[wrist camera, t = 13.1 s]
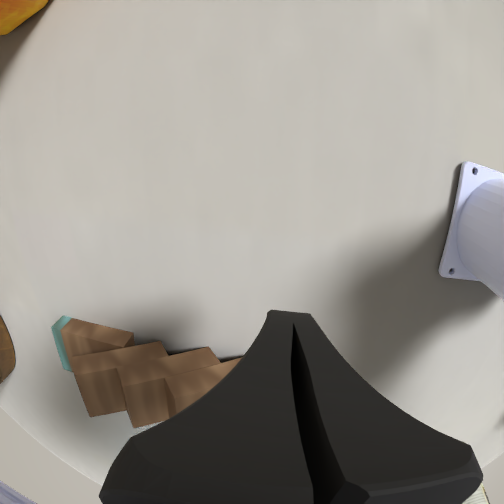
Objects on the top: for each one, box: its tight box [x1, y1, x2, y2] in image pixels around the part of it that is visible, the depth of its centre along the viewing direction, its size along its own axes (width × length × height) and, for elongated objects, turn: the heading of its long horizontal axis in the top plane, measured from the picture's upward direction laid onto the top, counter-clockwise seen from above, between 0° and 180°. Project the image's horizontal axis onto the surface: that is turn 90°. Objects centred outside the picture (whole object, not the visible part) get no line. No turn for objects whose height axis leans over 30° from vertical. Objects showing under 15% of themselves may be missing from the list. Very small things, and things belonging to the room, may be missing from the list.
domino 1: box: [51, 316, 135, 372], centre depth 23 cm, size 2×5×7 cm
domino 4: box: [164, 357, 242, 418], centre depth 20 cm, size 2×5×7 cm
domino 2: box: [72, 341, 168, 417], centre depth 20 cm, size 2×5×7 cm
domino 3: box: [116, 347, 221, 428], centre depth 20 cm, size 2×5×7 cm
